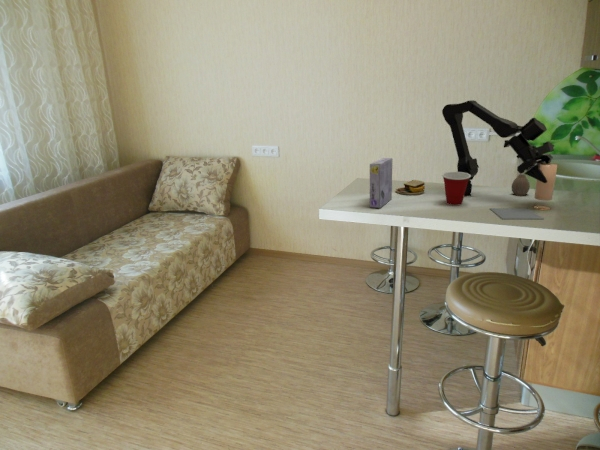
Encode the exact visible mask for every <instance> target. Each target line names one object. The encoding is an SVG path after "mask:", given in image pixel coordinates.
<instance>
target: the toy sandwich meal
mask: <svg viewBox="0 0 600 450" xmlns="http://www.w3.org/2000/svg"><path fill="white" fill-rule="evenodd" d="M425 187H426V185H425V182H424V181H422V180H417V179H411V180H409V181H407V182H403V187H397V188H396V189H395V191H396V193H397V194H400V195H403V196H418V195H422V194H423V193H425V189H426V188H425Z"/></svg>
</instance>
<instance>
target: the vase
mask: <svg viewBox="0 0 600 450" xmlns="http://www.w3.org/2000/svg"><path fill="white" fill-rule="evenodd" d="M530 188H531V186H530V181H529V179H528V178H527V175H526V174H524V173H522V174H520V173H519V174H518V175H517V177H516V178H514V180H513V181H512V183H511V192H512V194H513V195H514V194H515V196H517V195H518V196H520V197H523V196H526V195H527V194H528V193H529V191H530Z"/></svg>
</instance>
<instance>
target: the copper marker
mask: <svg viewBox="0 0 600 450" xmlns="http://www.w3.org/2000/svg"><path fill="white" fill-rule="evenodd" d="M537 206H538V208H537ZM533 208H534V209H537V210H542V211H543V210H544V211H546V210H551V207H549V206H546V205H545V206H544V205H535V206H533Z"/></svg>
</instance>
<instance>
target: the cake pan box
mask: <svg viewBox="0 0 600 450" xmlns="http://www.w3.org/2000/svg"><path fill="white" fill-rule="evenodd" d="M392 198H393V158H392V157H385V158H384V157H383V158H380V159H378V160H376V161H374V162H371V163H369V208H373V209H381V208H382V207H384V206H386V204H387V205H388V202H390V201H391V200H392Z"/></svg>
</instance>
